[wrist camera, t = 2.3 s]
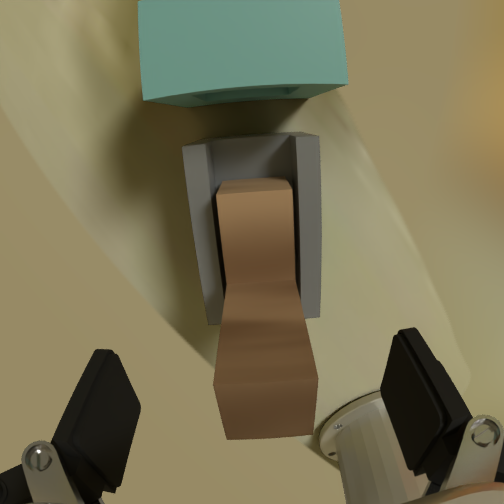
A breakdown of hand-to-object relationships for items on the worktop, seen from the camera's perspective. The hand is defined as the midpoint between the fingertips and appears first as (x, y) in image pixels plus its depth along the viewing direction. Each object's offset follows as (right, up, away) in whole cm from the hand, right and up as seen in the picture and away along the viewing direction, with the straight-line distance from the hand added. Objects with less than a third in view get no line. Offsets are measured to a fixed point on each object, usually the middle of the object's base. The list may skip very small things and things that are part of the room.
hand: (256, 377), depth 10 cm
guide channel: (0, +7, +9) cm, 12 cm away
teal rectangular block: (-1, +14, +6) cm, 16 cm away
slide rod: (0, +4, +7) cm, 8 cm away
